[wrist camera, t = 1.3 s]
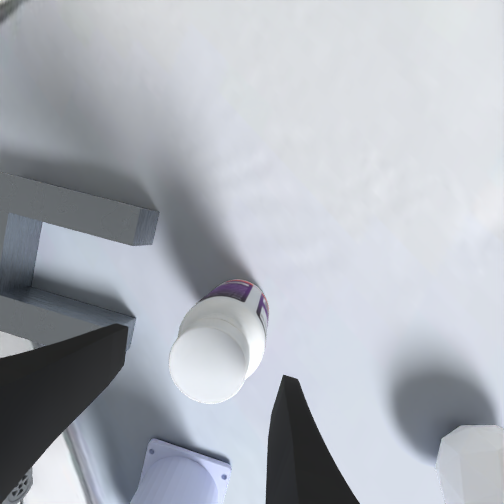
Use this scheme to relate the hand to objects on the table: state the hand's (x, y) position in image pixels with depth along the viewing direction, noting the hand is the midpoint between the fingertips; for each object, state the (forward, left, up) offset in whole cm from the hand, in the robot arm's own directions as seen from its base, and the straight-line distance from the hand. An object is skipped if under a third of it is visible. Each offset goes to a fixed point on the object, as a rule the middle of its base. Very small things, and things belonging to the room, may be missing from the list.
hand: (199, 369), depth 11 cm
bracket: (-1, +16, -11) cm, 19 cm away
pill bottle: (-1, 0, -11) cm, 11 cm away
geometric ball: (-7, -21, -11) cm, 25 cm away
